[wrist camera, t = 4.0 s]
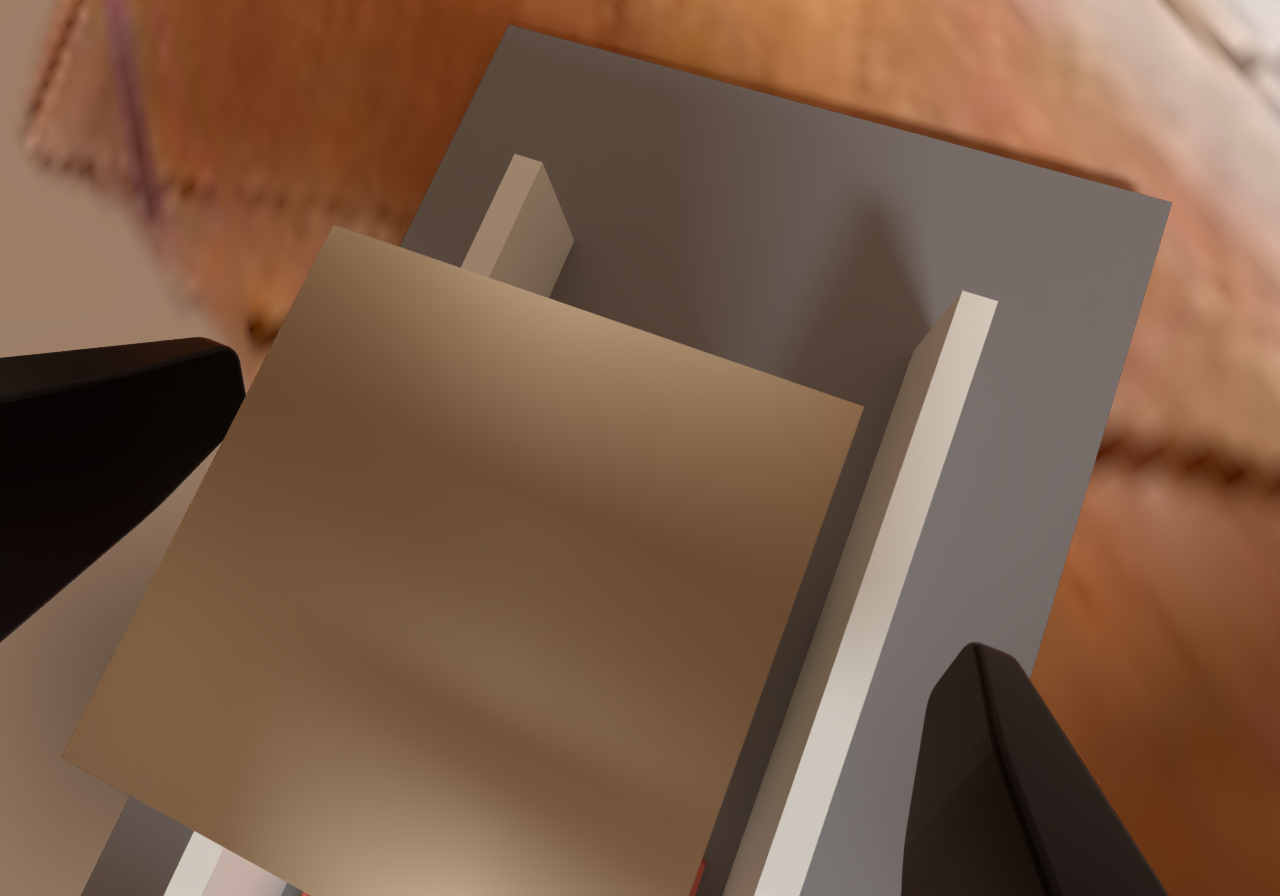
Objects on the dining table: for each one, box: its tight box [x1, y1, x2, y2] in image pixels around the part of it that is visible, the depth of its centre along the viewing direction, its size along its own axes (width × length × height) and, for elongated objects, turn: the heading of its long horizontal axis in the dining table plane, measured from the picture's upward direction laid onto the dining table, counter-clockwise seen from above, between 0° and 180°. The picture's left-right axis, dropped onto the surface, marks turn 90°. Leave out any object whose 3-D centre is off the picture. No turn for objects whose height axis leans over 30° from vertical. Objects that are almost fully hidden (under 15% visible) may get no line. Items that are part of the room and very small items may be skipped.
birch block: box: [62, 224, 864, 896], centre depth 10 cm, size 5×5×9 cm
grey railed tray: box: [81, 25, 1172, 896], centre depth 13 cm, size 26×16×4 cm, turn 158°
